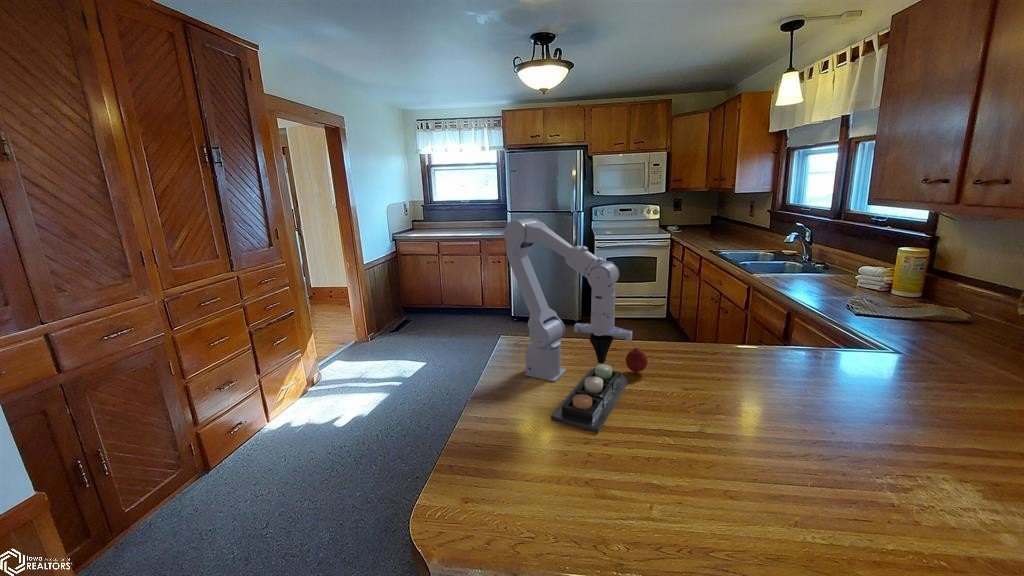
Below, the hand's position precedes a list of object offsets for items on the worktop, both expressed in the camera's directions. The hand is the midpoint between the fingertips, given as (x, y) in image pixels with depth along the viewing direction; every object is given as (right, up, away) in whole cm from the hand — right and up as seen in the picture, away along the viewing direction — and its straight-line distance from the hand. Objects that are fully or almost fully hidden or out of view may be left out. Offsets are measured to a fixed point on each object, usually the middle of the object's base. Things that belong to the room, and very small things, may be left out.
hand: (601, 361), depth 105 cm
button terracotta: (-7, -9, -11) cm, 15 cm away
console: (-3, -9, -3) cm, 10 cm away
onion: (+12, -5, +10) cm, 16 cm away
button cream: (-3, -6, -4) cm, 8 cm away
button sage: (+1, -4, +3) cm, 5 cm away
